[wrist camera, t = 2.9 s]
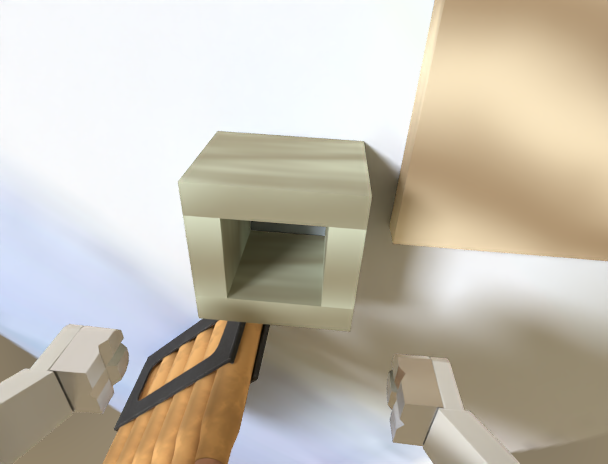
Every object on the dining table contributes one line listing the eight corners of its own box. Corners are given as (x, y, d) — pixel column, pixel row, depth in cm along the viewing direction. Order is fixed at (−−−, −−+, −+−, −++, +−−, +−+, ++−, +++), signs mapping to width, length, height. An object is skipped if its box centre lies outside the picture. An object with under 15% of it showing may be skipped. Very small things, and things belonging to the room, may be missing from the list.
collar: (217, 131, 17) (178, 181, 13) (363, 141, 17) (372, 196, 12) (227, 248, 20) (198, 318, 16) (347, 258, 20) (350, 331, 16)
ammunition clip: (253, 283, 22) (180, 543, 12) (276, 301, 22) (226, 563, 12) (147, 357, 26) (30, 591, 16) (169, 371, 27) (69, 604, 17)
